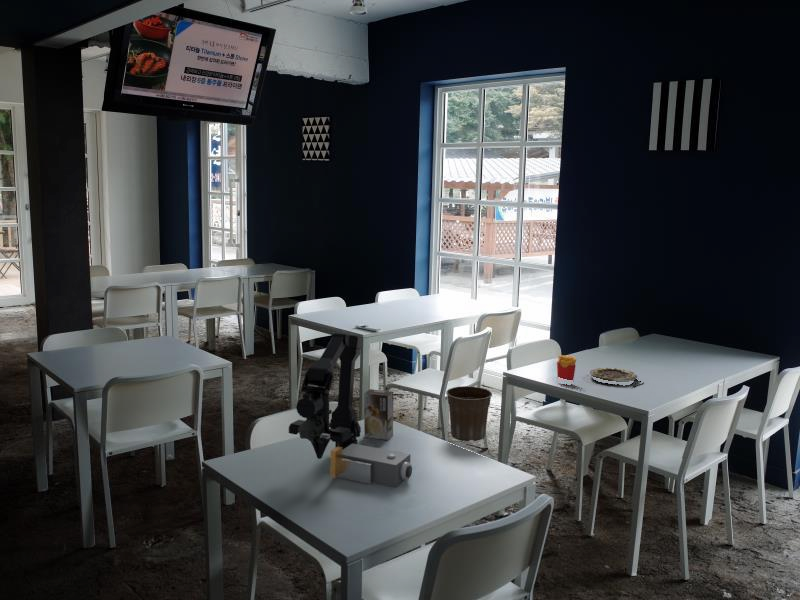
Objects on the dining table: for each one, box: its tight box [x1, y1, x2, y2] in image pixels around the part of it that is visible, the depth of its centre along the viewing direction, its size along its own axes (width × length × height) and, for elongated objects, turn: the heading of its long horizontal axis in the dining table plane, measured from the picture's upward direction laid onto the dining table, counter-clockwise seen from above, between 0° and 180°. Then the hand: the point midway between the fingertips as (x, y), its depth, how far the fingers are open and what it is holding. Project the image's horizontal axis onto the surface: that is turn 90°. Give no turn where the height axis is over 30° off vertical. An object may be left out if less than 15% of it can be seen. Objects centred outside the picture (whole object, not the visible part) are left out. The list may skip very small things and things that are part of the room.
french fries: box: [556, 354, 577, 381], centre depth 327 cm, size 9×4×13 cm, turn 43°
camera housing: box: [342, 444, 413, 489], centre depth 215 cm, size 22×10×8 cm, turn 65°
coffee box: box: [363, 388, 394, 441], centre depth 251 cm, size 9×6×16 cm
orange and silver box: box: [330, 447, 373, 485], centre depth 210 cm, size 11×5×10 cm, turn 65°
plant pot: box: [446, 385, 493, 442], centre depth 253 cm, size 16×16×16 cm
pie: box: [589, 367, 638, 382], centre depth 335 cm, size 28×27×5 cm
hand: (319, 458), depth 213 cm, fingers closed
